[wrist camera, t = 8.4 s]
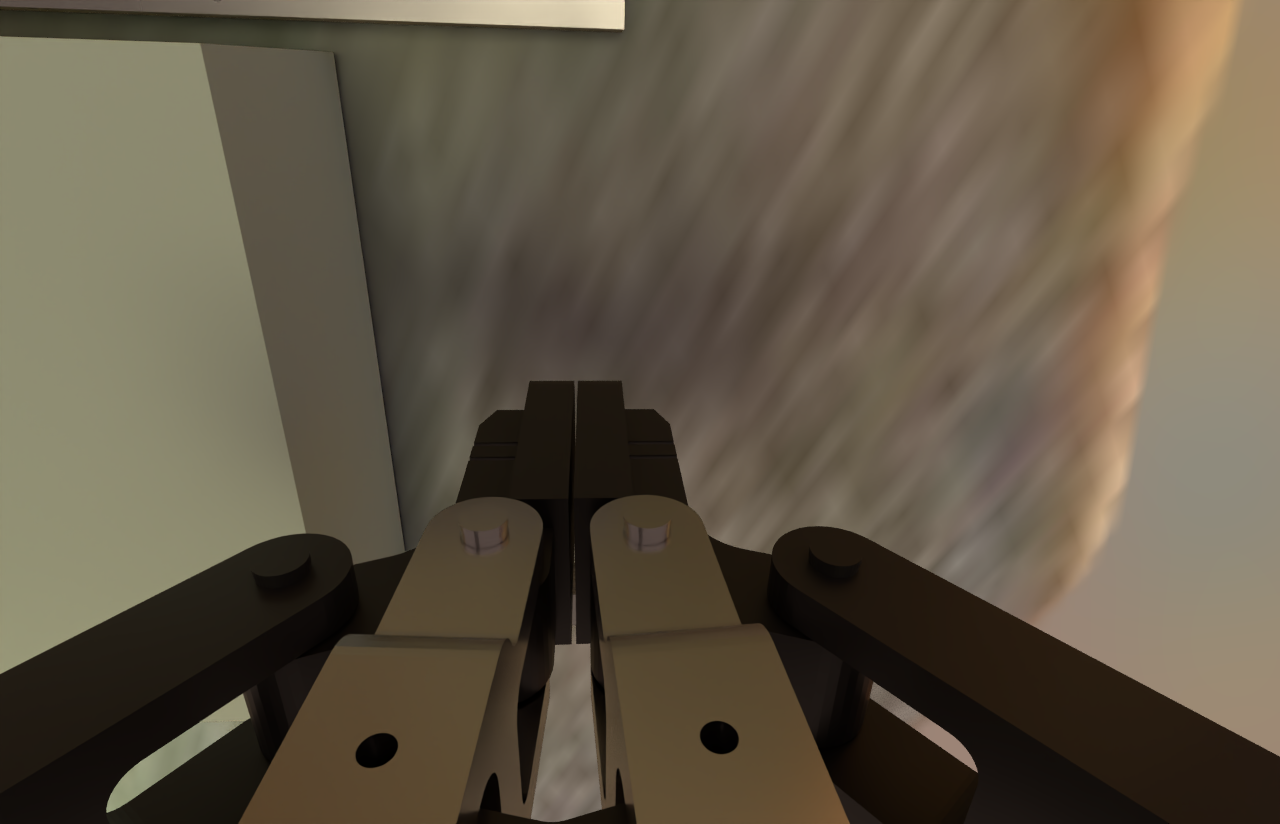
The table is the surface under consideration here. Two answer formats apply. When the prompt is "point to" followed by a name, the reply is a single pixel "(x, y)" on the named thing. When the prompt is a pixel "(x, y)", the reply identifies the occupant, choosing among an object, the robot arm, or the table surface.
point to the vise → (370, 18)
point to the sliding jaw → (176, 326)
